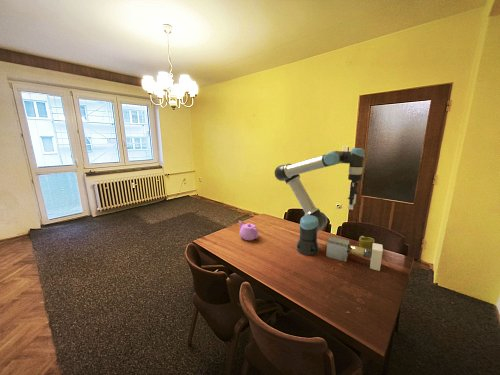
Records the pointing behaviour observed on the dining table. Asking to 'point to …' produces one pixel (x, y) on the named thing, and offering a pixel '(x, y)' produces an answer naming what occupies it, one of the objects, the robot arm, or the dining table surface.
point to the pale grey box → (337, 248)
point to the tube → (359, 251)
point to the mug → (366, 242)
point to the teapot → (248, 231)
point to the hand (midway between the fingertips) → (351, 206)
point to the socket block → (376, 256)
